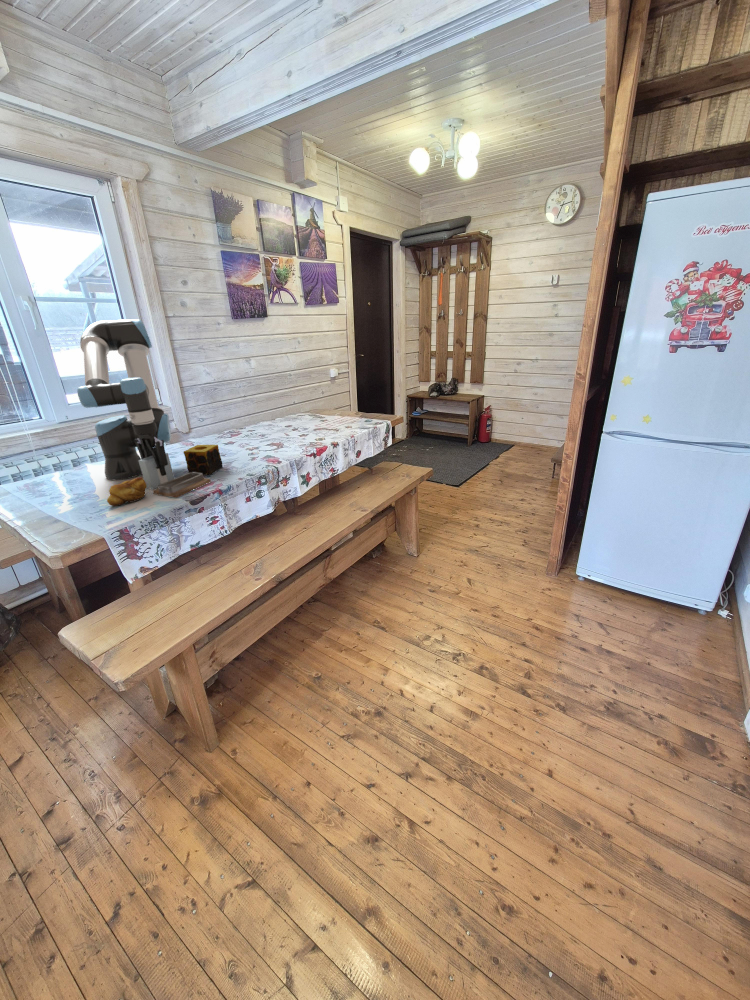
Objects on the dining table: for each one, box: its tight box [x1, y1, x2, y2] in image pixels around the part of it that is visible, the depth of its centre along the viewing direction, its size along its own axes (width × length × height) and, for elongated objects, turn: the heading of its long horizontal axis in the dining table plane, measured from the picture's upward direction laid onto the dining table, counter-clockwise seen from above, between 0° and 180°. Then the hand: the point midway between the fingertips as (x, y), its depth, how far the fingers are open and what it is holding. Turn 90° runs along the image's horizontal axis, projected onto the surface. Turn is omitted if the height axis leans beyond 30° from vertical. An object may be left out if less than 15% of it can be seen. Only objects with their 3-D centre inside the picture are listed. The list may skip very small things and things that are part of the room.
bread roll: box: [106, 476, 147, 507], centre depth 145 cm, size 13×10×8 cm
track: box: [152, 472, 212, 499], centre depth 155 cm, size 12×16×3 cm
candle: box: [183, 444, 224, 476], centre depth 170 cm, size 10×10×10 cm
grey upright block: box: [138, 452, 176, 490], centre depth 158 cm, size 4×10×11 cm, turn 154°
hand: (160, 482), depth 160 cm, fingers closed on grey upright block, 3 cm apart
